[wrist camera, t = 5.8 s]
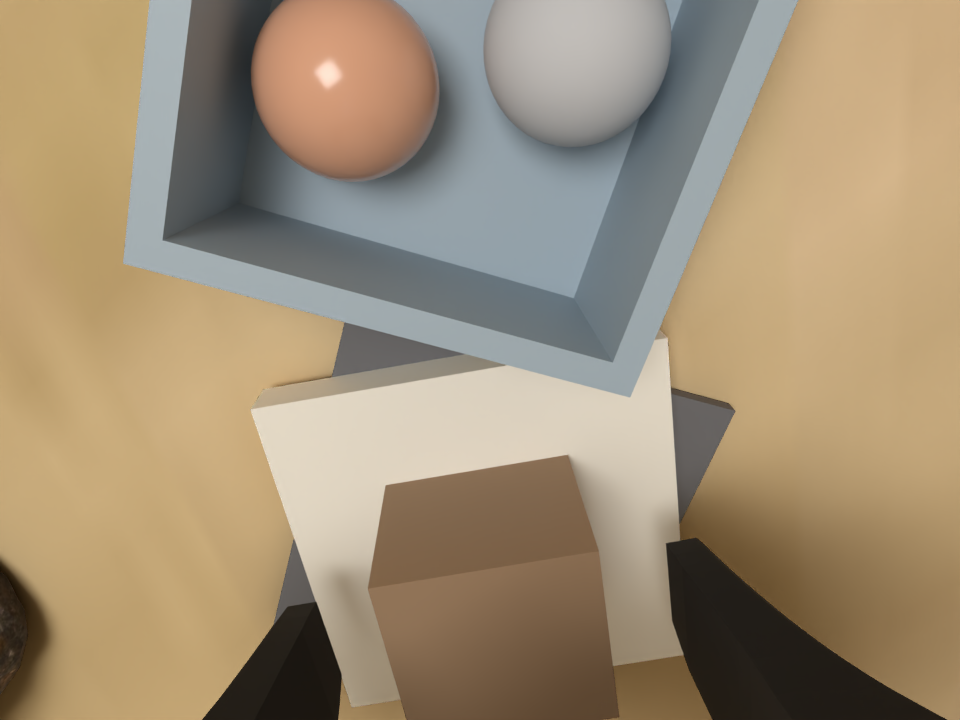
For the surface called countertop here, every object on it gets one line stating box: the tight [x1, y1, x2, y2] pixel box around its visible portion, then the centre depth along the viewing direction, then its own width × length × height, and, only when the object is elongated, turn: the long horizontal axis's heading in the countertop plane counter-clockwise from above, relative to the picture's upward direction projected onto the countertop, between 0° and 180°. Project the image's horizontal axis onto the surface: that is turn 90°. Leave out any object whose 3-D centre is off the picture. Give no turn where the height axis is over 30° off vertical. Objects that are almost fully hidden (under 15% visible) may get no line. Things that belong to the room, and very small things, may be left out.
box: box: [123, 0, 798, 397], centre depth 10 cm, size 8×8×4 cm
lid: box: [250, 329, 684, 720], centre depth 14 cm, size 9×9×4 cm
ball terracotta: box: [251, 0, 440, 182], centre depth 11 cm, size 3×3×3 cm
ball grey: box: [483, 0, 672, 147], centre depth 11 cm, size 3×3×3 cm
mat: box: [274, 322, 735, 624], centre depth 16 cm, size 9×9×1 cm
